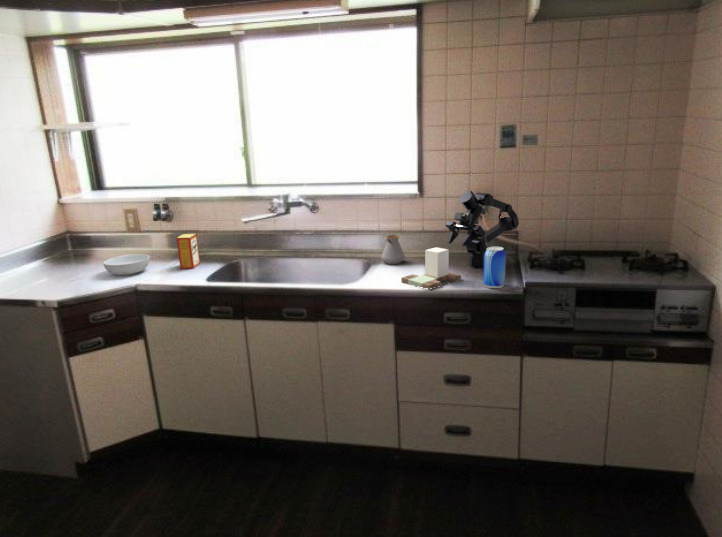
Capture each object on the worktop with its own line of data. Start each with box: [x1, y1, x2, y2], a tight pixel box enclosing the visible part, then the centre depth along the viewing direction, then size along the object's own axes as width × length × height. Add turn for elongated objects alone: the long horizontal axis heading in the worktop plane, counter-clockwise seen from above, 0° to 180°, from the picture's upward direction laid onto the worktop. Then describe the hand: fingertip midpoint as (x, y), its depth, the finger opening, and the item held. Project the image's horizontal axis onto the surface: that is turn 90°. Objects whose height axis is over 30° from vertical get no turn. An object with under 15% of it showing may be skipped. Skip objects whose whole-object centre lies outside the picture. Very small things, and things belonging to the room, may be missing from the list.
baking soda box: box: [176, 233, 201, 270], centre depth 264 cm, size 10×6×16 cm
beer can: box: [483, 246, 507, 289], centre depth 215 cm, size 8×8×16 cm
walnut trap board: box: [400, 271, 462, 289], centre depth 227 cm, size 20×16×2 cm
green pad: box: [407, 274, 437, 288], centre depth 224 cm, size 9×8×2 cm
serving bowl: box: [102, 253, 151, 276], centre depth 259 cm, size 21×21×7 cm
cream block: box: [424, 246, 450, 278], centre depth 228 cm, size 7×7×11 cm
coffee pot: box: [381, 234, 406, 265], centre depth 253 cm, size 21×12×15 cm, turn 168°
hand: (455, 244), depth 234 cm, fingers open, 7 cm apart
